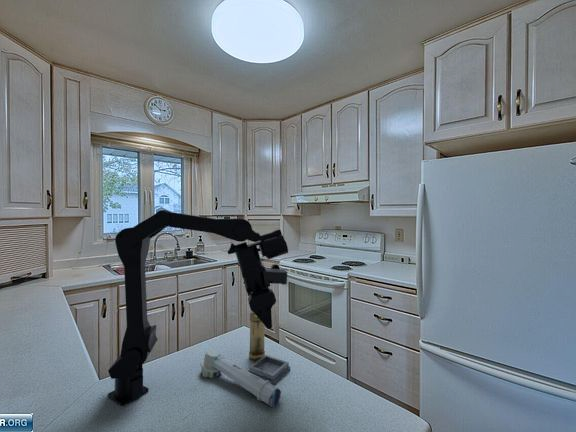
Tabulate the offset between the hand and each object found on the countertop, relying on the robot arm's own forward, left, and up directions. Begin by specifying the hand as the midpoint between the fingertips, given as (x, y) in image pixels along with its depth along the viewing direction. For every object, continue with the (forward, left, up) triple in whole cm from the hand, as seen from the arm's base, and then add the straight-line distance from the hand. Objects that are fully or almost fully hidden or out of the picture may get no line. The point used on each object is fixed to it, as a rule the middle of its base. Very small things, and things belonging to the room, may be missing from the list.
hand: (267, 321), depth 73 cm
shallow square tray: (-1, +3, -15) cm, 16 cm away
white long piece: (-5, -6, -16) cm, 18 cm away
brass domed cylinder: (-9, +8, -15) cm, 20 cm away
